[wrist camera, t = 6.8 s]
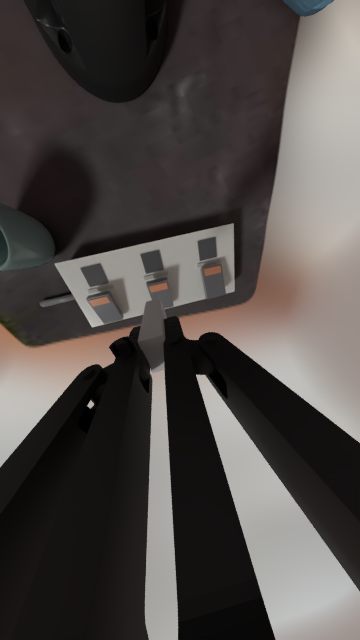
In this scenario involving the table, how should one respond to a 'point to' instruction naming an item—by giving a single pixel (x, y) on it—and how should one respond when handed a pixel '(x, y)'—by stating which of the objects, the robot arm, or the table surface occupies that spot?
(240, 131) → the table surface
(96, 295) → the rocker
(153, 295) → the rocker
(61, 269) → the power strip
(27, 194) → the table surface
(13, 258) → the cup
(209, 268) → the rocker
